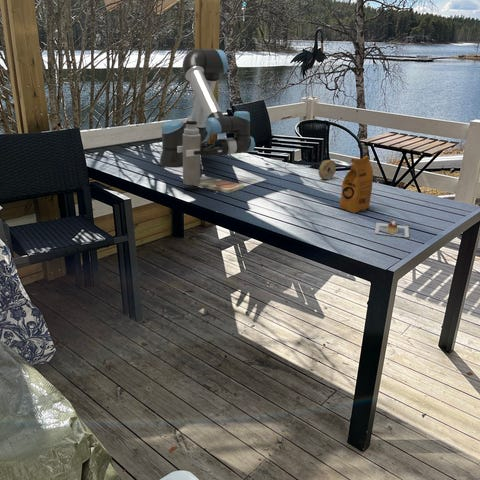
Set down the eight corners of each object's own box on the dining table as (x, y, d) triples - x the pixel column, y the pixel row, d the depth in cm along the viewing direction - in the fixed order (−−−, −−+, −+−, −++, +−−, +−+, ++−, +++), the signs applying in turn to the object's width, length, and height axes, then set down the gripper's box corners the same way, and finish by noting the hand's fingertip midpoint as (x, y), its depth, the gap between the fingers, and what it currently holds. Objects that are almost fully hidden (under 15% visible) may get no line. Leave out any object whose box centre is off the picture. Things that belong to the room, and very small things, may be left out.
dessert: (376, 225, 193) (377, 213, 191) (408, 229, 190) (410, 217, 188) (374, 235, 182) (376, 223, 180) (408, 240, 179) (410, 227, 177)
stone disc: (330, 176, 258) (332, 157, 254) (335, 178, 255) (337, 159, 252) (316, 179, 252) (318, 160, 248) (321, 181, 249) (323, 161, 246)
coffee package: (335, 208, 210) (341, 156, 201) (353, 202, 217) (359, 153, 209) (354, 214, 203) (360, 161, 194) (372, 208, 210) (379, 157, 202)
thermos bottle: (188, 179, 234) (188, 119, 223) (203, 181, 231) (203, 121, 220) (179, 183, 227) (179, 121, 216) (194, 186, 224) (194, 123, 213)
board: (188, 183, 238) (188, 180, 238) (204, 178, 248) (204, 175, 247) (228, 193, 226) (228, 189, 225) (243, 187, 235) (243, 183, 234)
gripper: (237, 159, 226) (193, 164, 214) (213, 150, 242) (171, 154, 230) (237, 143, 223) (193, 147, 211) (213, 134, 239) (171, 138, 227)
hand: (182, 151), depth 221 cm, fingers closed on thermos bottle, 8 cm apart
